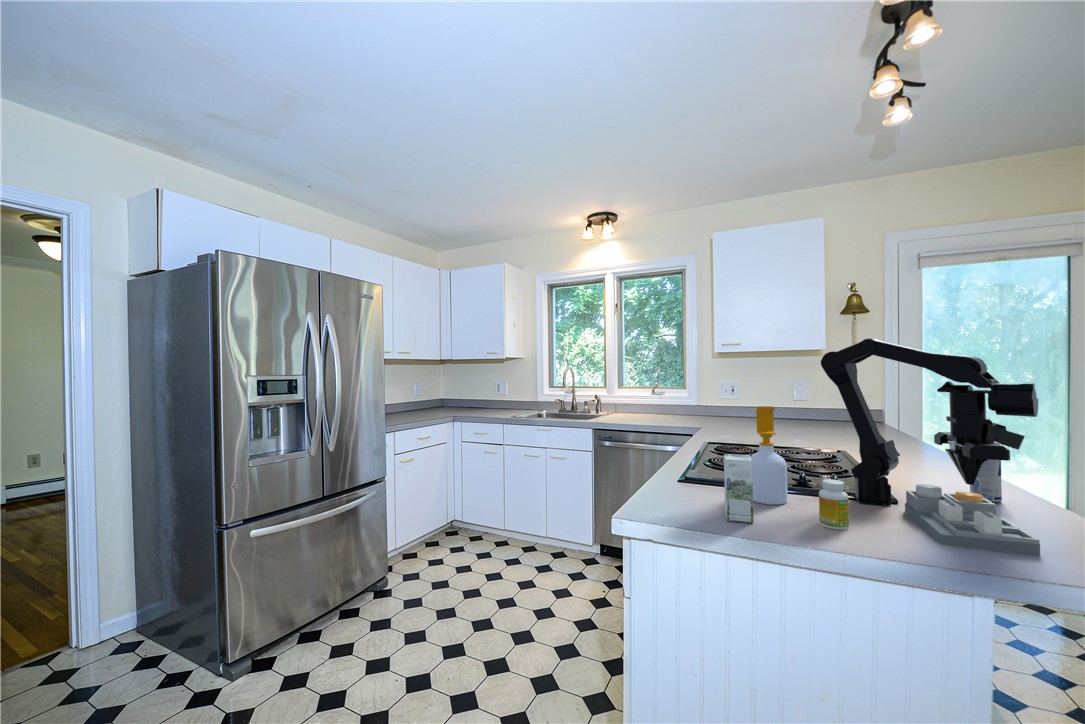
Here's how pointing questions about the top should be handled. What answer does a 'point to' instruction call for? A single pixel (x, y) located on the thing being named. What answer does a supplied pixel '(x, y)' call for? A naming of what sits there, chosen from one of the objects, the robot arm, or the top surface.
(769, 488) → the soap bottle
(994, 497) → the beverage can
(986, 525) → the slider
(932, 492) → the button
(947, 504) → the slider
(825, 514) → the supplement bottle
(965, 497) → the button
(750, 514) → the syrup box
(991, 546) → the panel
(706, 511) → the top surface
